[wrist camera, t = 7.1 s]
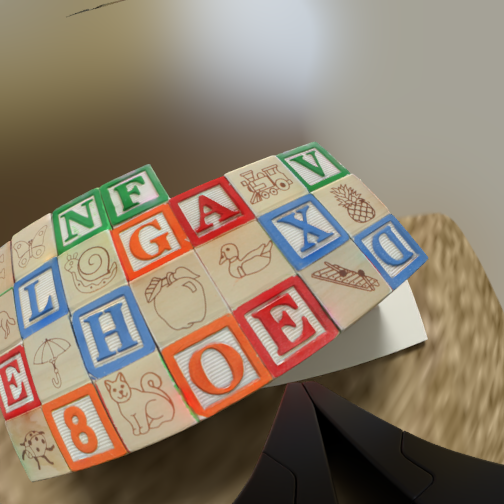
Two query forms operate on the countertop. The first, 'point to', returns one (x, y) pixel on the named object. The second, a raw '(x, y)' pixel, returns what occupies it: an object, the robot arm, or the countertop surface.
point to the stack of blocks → (182, 300)
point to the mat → (366, 338)
